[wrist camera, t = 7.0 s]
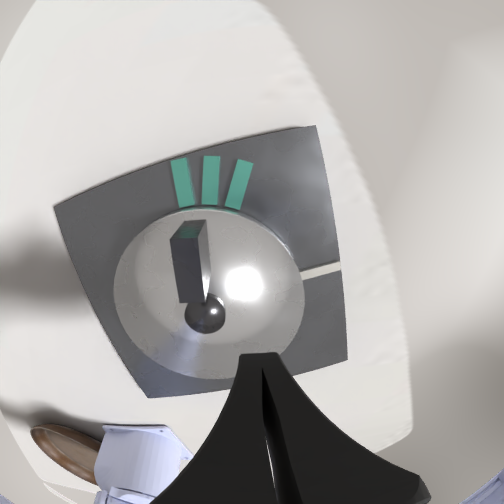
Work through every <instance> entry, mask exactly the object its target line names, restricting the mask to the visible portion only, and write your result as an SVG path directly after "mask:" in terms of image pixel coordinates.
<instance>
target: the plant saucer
mask: <svg viewBox="0 0 504 504" xmlns="http://www.w3.org/2000/svg"><path fill="white" fill-rule="evenodd" d="M30 433H31V436H32V438H33V440H34V441H35V443H36V444H37V445H38V447H39V448H40V449H41V450H42V451H43V452H44V453H45V454H46V455H47V456H48V457H50V458H51V459H52V460H53V461H55V462H56V463H57V464H59V465H60V466H61V467H63V468H64V469H66V470H67V471H69V472H71V473H72V474H74V475H76V476H78V477H79V478H81V479H83V480H85V481H88V482H90V483H92V484H94V485H97V486H98V484H97V482H96V480H95V475H94V466H95V462H96V459H97V456H98V453H99V450H100V447H101V444H102V443H101V442H99V441H97V440H95V439H93V438H91V437H89V436H87V435H85V434H83V433H81V432H78V431H76V430H73V429H71V428H68V427H65V426H61V425H56V424H42V425H38V426H35V427H33V428H31V431H30Z"/></svg>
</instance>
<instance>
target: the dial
mask: <svg viewBox="0 0 504 504" xmlns="http://www.w3.org/2000/svg"><path fill="white" fill-rule="evenodd" d="M114 301H115V306H116V310H117V313H118V316H119V319H120V322H121V324H122V325H123V327H124V329H125V331H126V333H127V334H128V336H129V337H130V338H131V340H132V341H133V342H134V343H135V345H136V346H137V347H138V348H139V349H140V350H141V351H142V352H143V353H145V354H146V355H147V356H148V357H149V358H151V359H152V360H154V361H155V362H157V363H158V364H160V365H162V366H163V367H165V368H167V369H170V370H172V371H174V372H177V373H180V374H183V375H186V376H191V377H195V378H203V379H226V378H232V377H235V375H236V372H237V368H238V362H239V356H240V355H241V354H247V353H267V352H277V353H278V354H279V355H280V354H281V353H282V352H283V351H284V350H285V349H286V348H287V347H288V345H289V344H290V343H291V341H292V340H293V338H294V337H295V335H296V333H297V331H298V329H299V326H300V324H301V320H302V317H303V313H304V305H305V296H304V287H303V282H302V278H301V275H300V272H299V269H298V267H297V266H296V264H295V262H294V260H293V258H292V256H291V254H290V253H289V251H288V249H287V248H286V247H285V245H284V244H283V242H282V241H281V240H280V239H279V238H278V237H277V236H276V235H275V234H274V232H273V231H271V230H270V229H269V228H268V227H266V226H265V225H264V224H263V223H261V222H259V221H258V220H256V219H254V218H252V217H251V216H248V215H246V214H244V213H241V212H239V211H236V210H232V209H228V208H223V207H215V206H196V207H189V208H184V209H180V210H177V211H173V212H171V213H169V214H167V215H164V216H162V217H160V218H159V219H157V220H156V221H154V222H153V223H151V224H150V225H149V226H148V227H146V228H145V229H144V230H143V231H142V232H140V233H139V234H138V235H137V236H136V237H135V238H134V239H133V240H132V242H131V243H130V244H129V245H128V246H127V248H126V249H125V251H124V253H123V255H122V256H121V258H120V261H119V264H118V266H117V269H116V274H115V278H114Z"/></svg>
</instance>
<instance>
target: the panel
mask: <svg viewBox="0 0 504 504" xmlns="http://www.w3.org/2000/svg"><path fill="white" fill-rule="evenodd" d="M196 206H215V207H223V208H228V209H232V210H236V211H239V212H241V213H244V214H246V215H248V216H251V217H252V218H254V219H256V220H258V221H259V222H261V223H263V224H264V225H265V226H266V227H268V228H269V229H270V230H271V231H273V232H274V234H275V235H276V236H277V237H278V238H279V239H280V240H281V241H282V242H283V244H284V245H285V247H286V248H287V249H288V251H289V253H290V254H291V256H292V258H293V260H294V262H295V264H296V266H297V267H298V269H299V272H300V275H301V278H302V282H303V287H304V296H305V305H304V313H303V317H302V320H301V324H300V326H299V329H298V331H297V333H296V335H295V337H294V338H293V340H292V341H291V343H290V344H289V345H288V347H287V348H286V349H285V350H284V351H283V352H282V353H281V354H280V357H281V359H282V361H283V363H284V364H285V366H286V367H287V369H288V371H289V372H290V374H291V375H292V376H294V375H298V374H302V373H306V372H309V371H313V370H316V369H320V368H323V367H327V366H330V365H333V364H336V363H340V362H343V361H346V360H348V356H347V334H346V318H345V304H344V293H343V283H342V273H341V264H340V256H339V248H338V240H337V233H336V227H335V220H334V214H333V207H332V202H331V196H330V190H329V185H328V180H327V174H326V169H325V164H324V160H323V155H322V150H321V146H320V141H319V137H318V133H317V129H316V125H314V126H307V127H301V128H295V129H290V130H284V131H279V132H274V133H269V134H264V135H260V136H255V137H251V138H246V139H242V140H238V141H234V142H230V143H226V144H222V145H218V146H214V147H211V148H207V149H204V150H200V151H197V152H193V153H190V154H187V155H183V156H180V157H177V158H174V159H171V160H168V161H165V162H162V163H159V164H156V165H153V166H150V167H147V168H144V169H142V170H139V171H136V172H133V173H131V174H128V175H126V176H123V177H120V178H118V179H115V180H113V181H110V182H108V183H106V184H103V185H101V186H98V187H96V188H94V189H91V190H89V191H87V192H85V193H82V194H80V195H78V196H76V197H74V198H72V199H70V200H67V201H65V202H63V203H61V204H59V205H57V206H55V207H54V209H55V212H56V216H57V219H58V222H59V225H60V228H61V231H62V234H63V237H64V240H65V242H66V245H67V248H68V251H69V253H70V256H71V258H72V261H73V263H74V266H75V268H76V271H77V273H78V275H79V278H80V280H81V282H82V285H83V287H84V289H85V291H86V293H87V296H88V298H89V300H90V302H91V304H92V306H93V308H94V310H95V312H96V314H97V316H98V318H99V320H100V322H101V324H102V326H103V327H104V329H105V331H106V333H107V335H108V336H109V338H110V340H111V342H112V344H113V345H114V347H115V349H116V350H117V352H118V354H119V355H120V357H121V359H122V360H123V362H124V363H125V365H126V367H127V368H128V370H129V371H130V373H131V374H132V376H133V377H134V379H135V380H136V382H137V383H138V385H139V386H140V388H141V389H142V391H143V392H144V393H145V395H146V396H147V398H160V397H172V396H183V395H192V394H200V393H207V392H214V391H221V390H227V389H231V388H232V385H233V382H234V379H235V377H232V378H226V379H203V378H195V377H191V376H186V375H183V374H180V373H177V372H174V371H172V370H170V369H167V368H165V367H163V366H162V365H160V364H158V363H157V362H155V361H154V360H152V359H151V358H149V357H148V356H147V355H146V354H145V353H143V352H142V351H141V350H140V349H139V348H138V347H137V346H136V345H135V343H134V342H133V341H132V340H131V338H130V337H129V336H128V334H127V333H126V331H125V329H124V327H123V325H122V324H121V322H120V319H119V316H118V313H117V310H116V306H115V301H114V278H115V274H116V269H117V266H118V264H119V261H120V258H121V256H122V255H123V253H124V251H125V249H126V248H127V246H128V245H129V244H130V243H131V242H132V240H133V239H134V238H135V237H136V236H137V235H138V234H139V233H140V232H142V231H143V230H144V229H145V228H146V227H148V226H149V225H150V224H151V223H153V222H154V221H156V220H157V219H159V218H160V217H162V216H164V215H167V214H169V213H171V212H173V211H177V210H180V209H184V208H189V207H196Z"/></svg>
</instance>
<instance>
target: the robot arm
mask: <svg viewBox="0 0 504 504" xmlns="http://www.w3.org/2000/svg"><path fill="white" fill-rule="evenodd" d="M102 428H103V430H104V431H105V435H104V438H103V441H102V444H101V447H100V450H99V453H98V456H97V459H96V462H95V466H94V475H95V480H96V482H97V484H98V486H99V487H100V488H101V489H102V491H99V492H97V494H96V498H95V501H94V504H427V503H428V502H429V501H430V499H431V496H430V493H429V491H428V489H427V487H426V485H425V483H424V482H423V481H422V479H421V478H420V476H419V475H417V474H415V473H412V472H409V471H407V470H405V469H403V468H400V467H398V466H396V465H394V464H392V463H390V462H388V461H386V460H384V459H382V458H381V457H379V456H377V455H375V454H374V453H372V452H371V451H369V450H368V449H366V448H365V447H363V446H362V445H360V444H359V443H357V442H356V441H354V440H353V439H352V438H350V437H349V436H348V435H347V434H345V433H344V432H343V431H342V430H340V429H339V428H338V427H337V426H336V425H335V424H334V423H333V422H331V421H330V420H329V419H328V418H327V417H326V416H325V415H324V414H323V413H322V412H321V411H320V410H319V409H318V408H317V406H316V405H315V404H314V403H313V402H312V401H311V400H310V399H309V397H308V396H307V395H306V394H305V392H304V391H303V390H302V389H301V387H300V386H299V385H298V383H297V382H296V381H295V379H294V378H293V377H292V375H291V374H290V372H289V371H288V369H287V367H286V366H285V364H284V363H283V361H282V359H281V357H280V355H279V354H278V353H277V352H267V353H247V354H241V355H240V356H239V362H238V368H237V372H236V375H235V379H234V382H233V385H232V388H231V390H230V393H229V396H228V398H227V400H226V403H225V405H224V407H223V409H222V411H221V413H220V415H219V417H218V419H217V421H216V423H215V425H214V427H213V428H212V430H211V432H210V433H209V435H208V437H207V438H206V440H205V441H204V443H203V444H202V446H201V447H200V449H199V450H198V451H197V453H196V454H195V456H193V455H192V454H191V453H190V452H189V450H188V449H187V448H186V447H185V446H184V445H183V444H182V443H181V442H180V440H179V439H178V438H177V437H176V436H175V435H174V433H173V432H172V431H171V430H170V429H169V428H168V427H166V426H111V425H103V427H102ZM266 440H267V443H266ZM267 445H268V449H269V454H270V458H271V463H272V468H273V476H274V482H273V477H272V471H271V466H270V460H269V455H268V449H267ZM191 459H192V460H191ZM180 460H191V461H190V462H189V463H188V465H187V466H186V467H185V468H184V469H183V470H182V471H181V473H180V474H179V469H180ZM274 485H275V487H274ZM0 504H14V503H12V502H11V501H9V500H8V499H6V498H5V497H4V496H2V495H1V494H0ZM459 504H504V468H503V469H502V470H501V471H500V472H499V473H498V474H497V475H496V476H494V477H493V478H492V479H491V480H489V481H488V482H487V483H486V484H484V485H483V486H482V487H481V488H479V489H478V490H477V491H476V492H475V493H473V494H472V495H471V496H469V497H468V498H466V499H465V500H464V501H462V502H461V503H459Z"/></svg>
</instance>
